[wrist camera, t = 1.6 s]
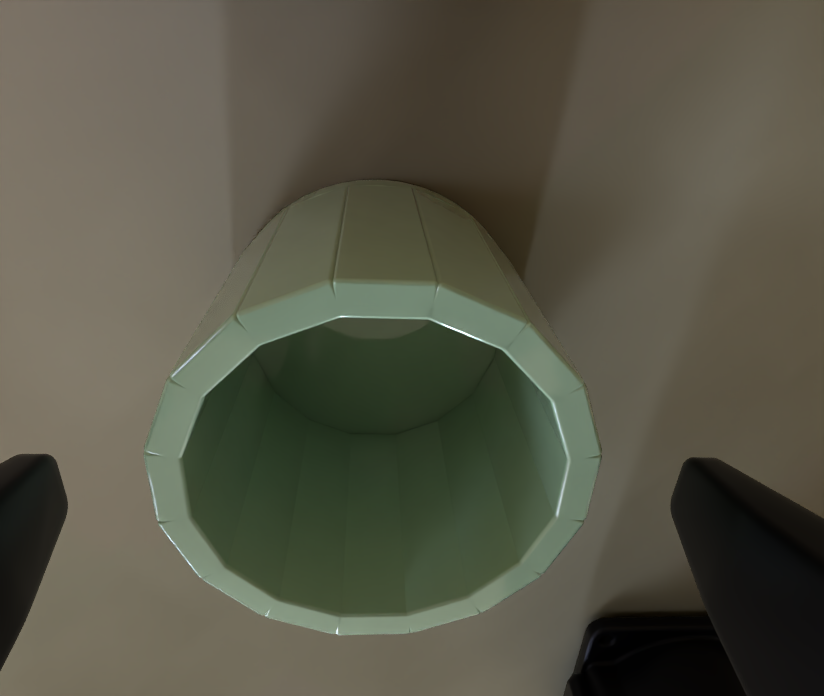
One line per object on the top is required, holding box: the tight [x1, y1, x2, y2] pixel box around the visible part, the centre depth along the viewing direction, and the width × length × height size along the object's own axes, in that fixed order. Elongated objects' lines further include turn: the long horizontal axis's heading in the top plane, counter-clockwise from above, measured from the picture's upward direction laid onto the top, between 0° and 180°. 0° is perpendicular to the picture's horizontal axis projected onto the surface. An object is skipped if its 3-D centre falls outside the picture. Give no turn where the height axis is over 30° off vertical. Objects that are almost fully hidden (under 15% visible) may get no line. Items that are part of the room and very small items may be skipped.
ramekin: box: [144, 180, 602, 635], centre depth 11 cm, size 6×6×6 cm
